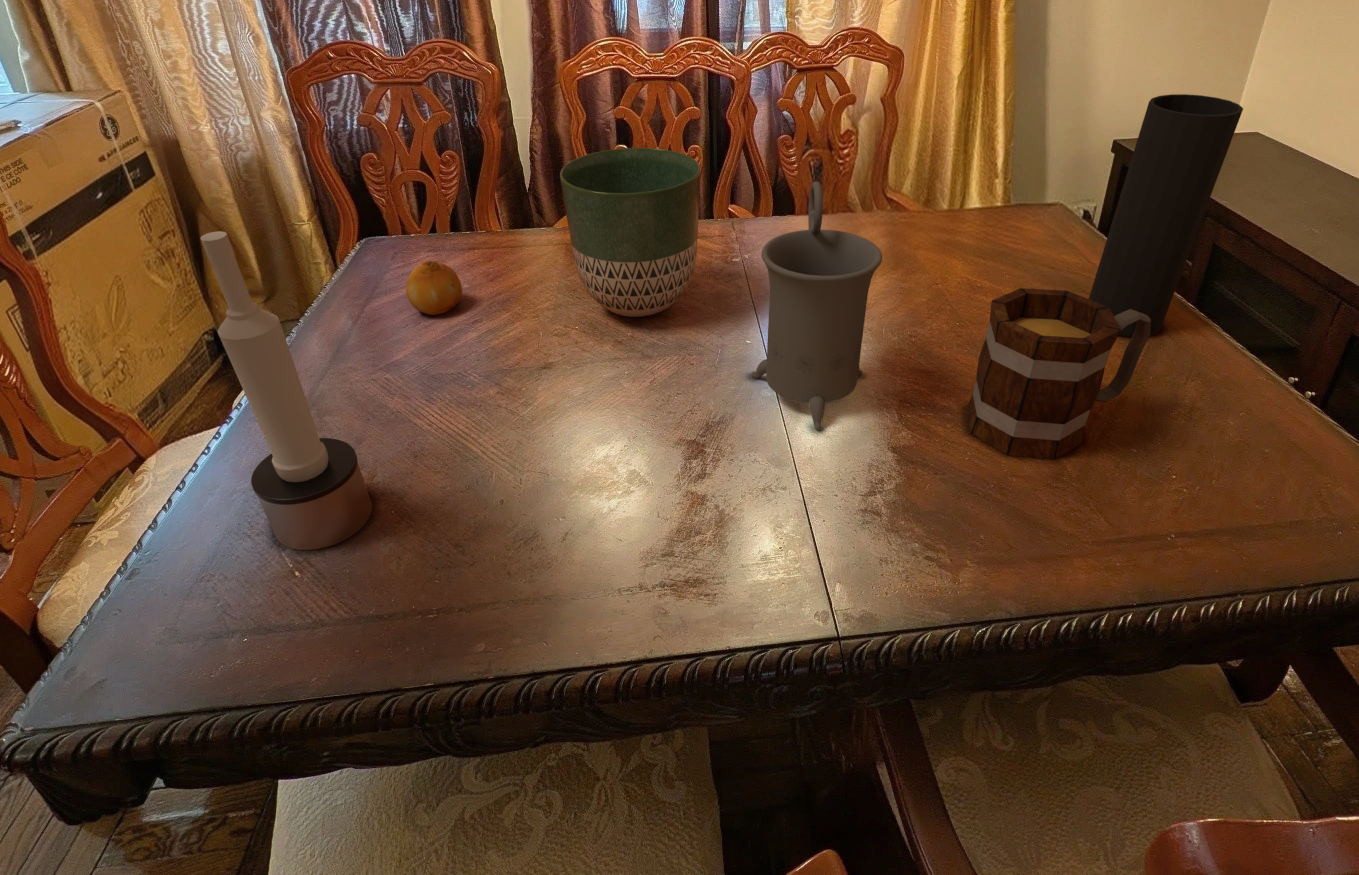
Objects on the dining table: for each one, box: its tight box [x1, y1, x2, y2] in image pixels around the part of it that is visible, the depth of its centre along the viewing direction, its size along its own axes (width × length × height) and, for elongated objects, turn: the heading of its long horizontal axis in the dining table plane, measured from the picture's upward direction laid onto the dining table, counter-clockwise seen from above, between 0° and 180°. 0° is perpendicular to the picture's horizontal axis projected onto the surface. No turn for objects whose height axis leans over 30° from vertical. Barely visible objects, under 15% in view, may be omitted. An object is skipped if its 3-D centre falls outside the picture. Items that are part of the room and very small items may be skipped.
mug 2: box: [750, 180, 883, 431], centre depth 97 cm, size 19×15×25 cm
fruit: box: [405, 260, 463, 316], centre depth 124 cm, size 8×8×8 cm
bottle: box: [199, 230, 328, 482], centre depth 75 cm, size 5×5×25 cm
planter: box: [559, 147, 701, 318], centre depth 118 cm, size 20×20×21 cm
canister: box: [250, 437, 373, 551], centre depth 84 cm, size 10×10×7 cm
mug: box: [966, 287, 1151, 460], centre depth 93 cm, size 20×14×15 cm
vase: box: [1088, 93, 1244, 338], centre depth 108 cm, size 10×10×30 cm
